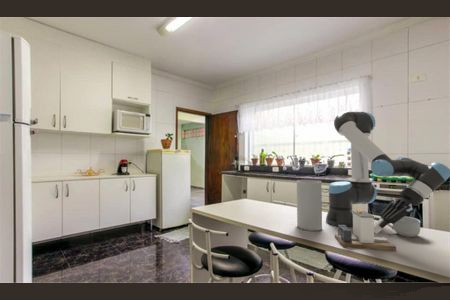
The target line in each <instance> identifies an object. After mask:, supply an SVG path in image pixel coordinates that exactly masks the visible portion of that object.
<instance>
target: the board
mask: <svg viewBox="0 0 450 300" xmlns="http://www.w3.org/2000/svg"><path fill="white" fill-rule="evenodd" d="M352 236H354V234H352ZM374 237H381V238H384V237H382V236H378V235H377V236H376V235H374ZM334 238H335V240H337V242H338V243H339V244H340V245H341V246H342V247H343V248H348V247H351V248H352V249H364V248H370V249H369V250H379V249H383V250H382V251H394V250H395V251H397V246H396V245H394V244H393V243H391V242H390V241H389V243H387V242H374V243H361V242H360V241H353V240H352V242H344V241H343V240H341V239H340V238H339V236H338V233H334Z"/></svg>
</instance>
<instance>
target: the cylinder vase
mask: <svg viewBox="0 0 450 300" xmlns="http://www.w3.org/2000/svg"><path fill="white" fill-rule="evenodd" d="M322 194H323V193H322V181H321V180H315V179H298V180H296V220H297V221H296V222H297V224H296V225H297V227H298V228H299V229H300V230H304V231H311V232H317V231H320V230H322V229H323V211H322V210H323V207H322V206H323V204H322V203H323V202H322V200H323V199H322Z"/></svg>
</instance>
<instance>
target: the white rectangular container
mask: <svg viewBox="0 0 450 300" xmlns="http://www.w3.org/2000/svg"><path fill="white" fill-rule="evenodd" d="M352 213H353V227H352V233H353V235H354V236H357V237H359V241H360V242H361V243H374V236H375V232H374V224H375V215H373V214H371V213H369V212H367V211H365V210H352Z"/></svg>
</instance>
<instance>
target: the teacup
mask: <svg viewBox="0 0 450 300" xmlns="http://www.w3.org/2000/svg"><path fill="white" fill-rule="evenodd" d="M386 226H388V227H389V228H391V229H392V230H394V231H395V232H396V233H397V234H398V235H400V236H402V237H406V238H414V237H417V236H418V235H420V233H421V220H420V219H418V218H415V217H413V216H412V217H411V216H407V215H406V216H404V217H403V218H401V219H400V220H399V221H397V222H396V223H394V224H391V223H390V224H387V225H386Z"/></svg>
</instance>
